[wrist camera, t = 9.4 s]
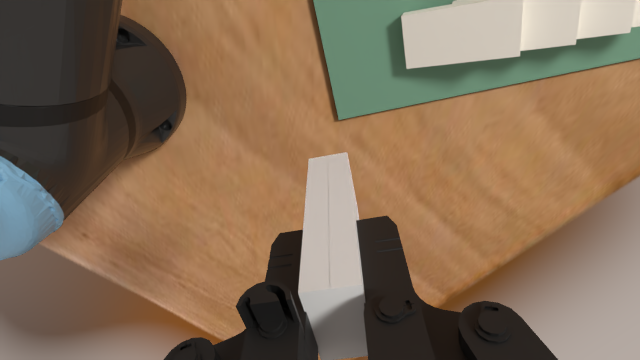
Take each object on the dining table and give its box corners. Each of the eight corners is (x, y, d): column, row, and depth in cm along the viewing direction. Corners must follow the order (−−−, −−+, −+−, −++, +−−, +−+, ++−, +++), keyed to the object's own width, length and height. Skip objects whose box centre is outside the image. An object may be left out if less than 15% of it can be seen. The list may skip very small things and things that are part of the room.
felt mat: (338, 117, 42) (338, 120, 41) (309, -18, 34) (309, -18, 34) (665, 50, 37) (670, 51, 37) (709, -122, 30) (716, -123, 29)
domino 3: (499, 48, 35) (630, 32, 31) (501, -8, 33) (643, -34, 28) (499, 44, 36) (625, 28, 32) (500, -11, 34) (637, -36, 30)
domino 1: (406, 69, 36) (520, 56, 32) (401, 16, 34) (523, -6, 30) (409, 63, 38) (519, 51, 33) (404, 12, 35) (522, -9, 31)
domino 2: (453, 58, 36) (575, 44, 32) (451, 4, 33) (584, -20, 29) (454, 54, 37) (572, 39, 33) (453, 0, 34) (580, -23, 30)
